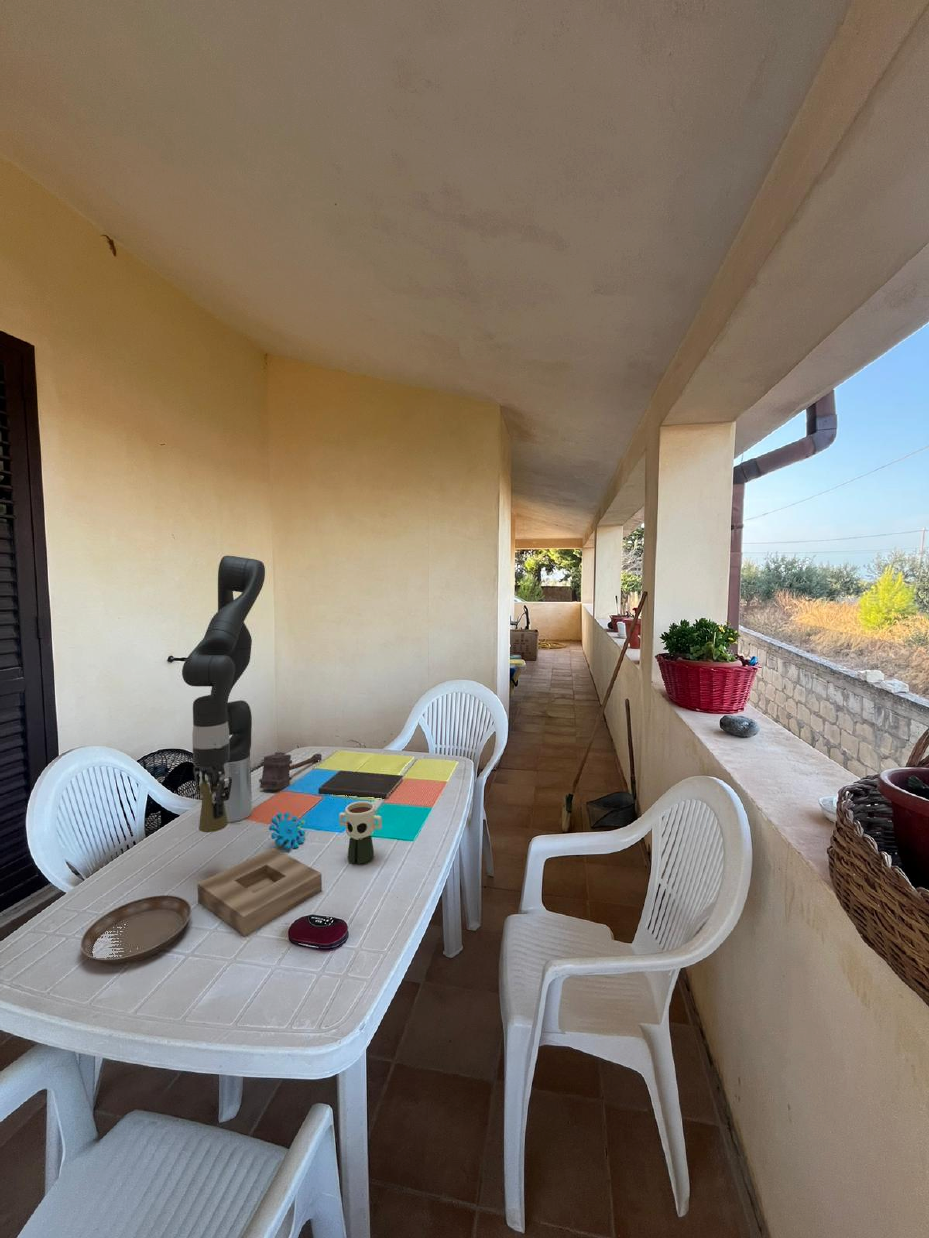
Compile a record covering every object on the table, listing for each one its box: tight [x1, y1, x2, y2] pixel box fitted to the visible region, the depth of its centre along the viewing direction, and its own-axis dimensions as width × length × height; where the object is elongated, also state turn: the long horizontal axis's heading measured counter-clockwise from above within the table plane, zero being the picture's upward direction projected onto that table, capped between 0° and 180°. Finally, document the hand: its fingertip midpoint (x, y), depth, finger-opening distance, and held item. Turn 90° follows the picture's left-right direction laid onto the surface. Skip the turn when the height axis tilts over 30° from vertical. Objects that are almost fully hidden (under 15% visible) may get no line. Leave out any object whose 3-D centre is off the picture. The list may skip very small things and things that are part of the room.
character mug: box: [338, 800, 383, 864], centre depth 124 cm, size 11×7×13 cm, turn 79°
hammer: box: [258, 753, 323, 791], centre depth 179 cm, size 7×33×10 cm, turn 166°
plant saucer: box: [80, 894, 192, 966], centre depth 97 cm, size 18×18×3 cm
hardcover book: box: [317, 770, 404, 799], centre depth 168 cm, size 16×23×2 cm
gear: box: [268, 811, 306, 850], centre depth 132 cm, size 11×6×10 cm
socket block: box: [196, 847, 323, 937], centre depth 110 cm, size 18×18×4 cm
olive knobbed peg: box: [198, 781, 229, 833], centre depth 117 cm, size 6×6×11 cm
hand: (213, 814), depth 117 cm, fingers closed on olive knobbed peg, 4 cm apart
